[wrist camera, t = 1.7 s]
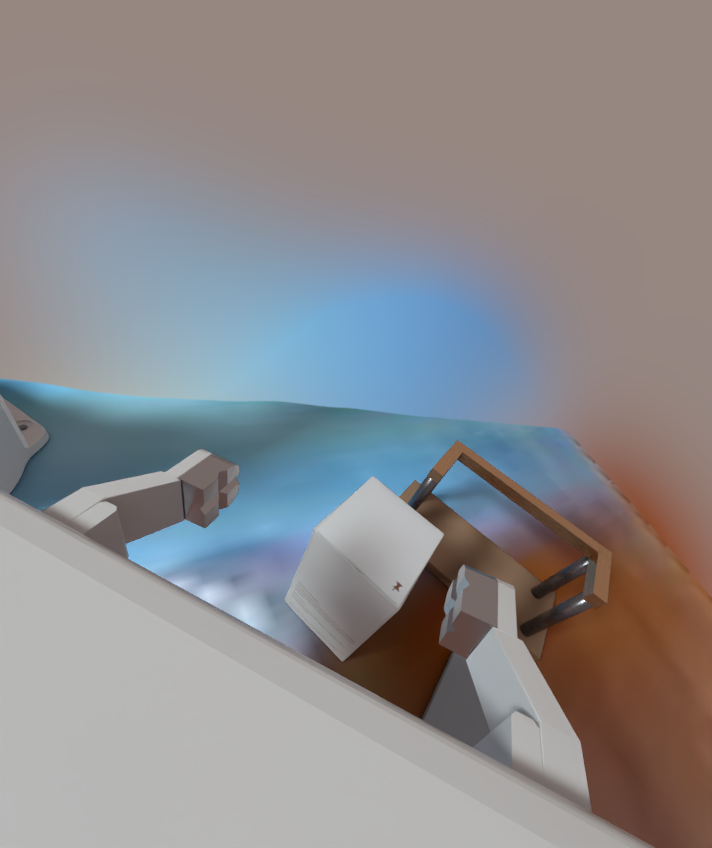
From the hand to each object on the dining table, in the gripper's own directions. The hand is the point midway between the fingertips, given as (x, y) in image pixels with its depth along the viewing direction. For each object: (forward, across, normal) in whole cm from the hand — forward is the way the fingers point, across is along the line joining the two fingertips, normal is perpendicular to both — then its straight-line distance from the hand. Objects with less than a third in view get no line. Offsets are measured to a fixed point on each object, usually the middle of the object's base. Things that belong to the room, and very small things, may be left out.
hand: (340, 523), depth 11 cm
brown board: (+22, -10, +22) cm, 33 cm away
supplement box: (+11, +1, +22) cm, 25 cm away
